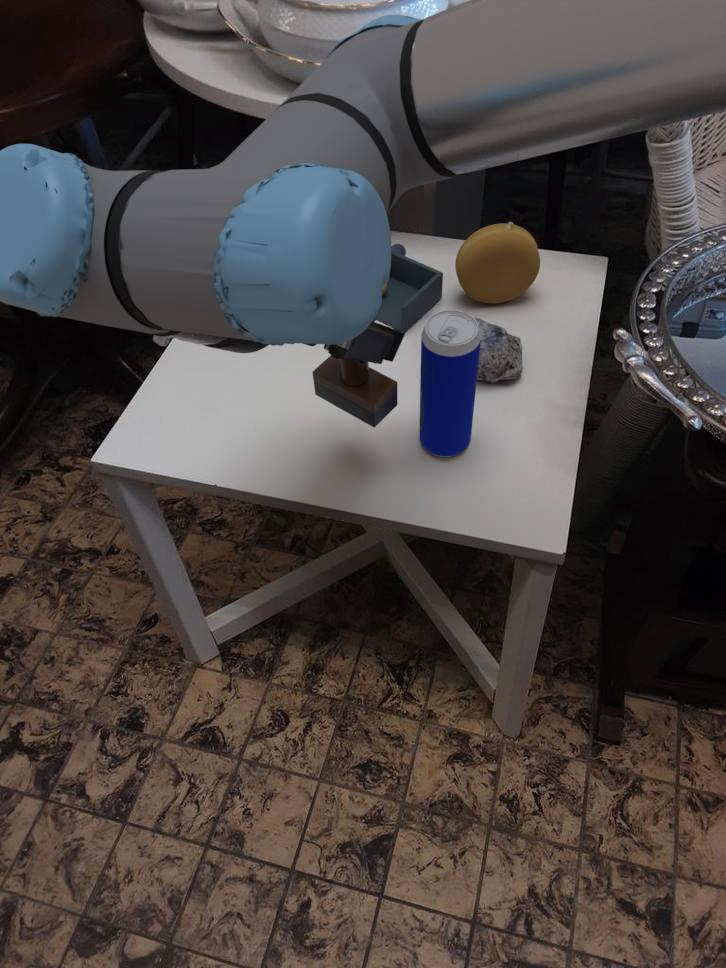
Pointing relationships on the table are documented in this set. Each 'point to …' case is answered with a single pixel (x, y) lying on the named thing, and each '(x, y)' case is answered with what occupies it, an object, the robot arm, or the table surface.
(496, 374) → the mineral specimen
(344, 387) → the brush
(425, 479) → the table surface
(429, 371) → the beverage can
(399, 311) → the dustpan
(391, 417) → the table surface
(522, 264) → the tan flat oval
